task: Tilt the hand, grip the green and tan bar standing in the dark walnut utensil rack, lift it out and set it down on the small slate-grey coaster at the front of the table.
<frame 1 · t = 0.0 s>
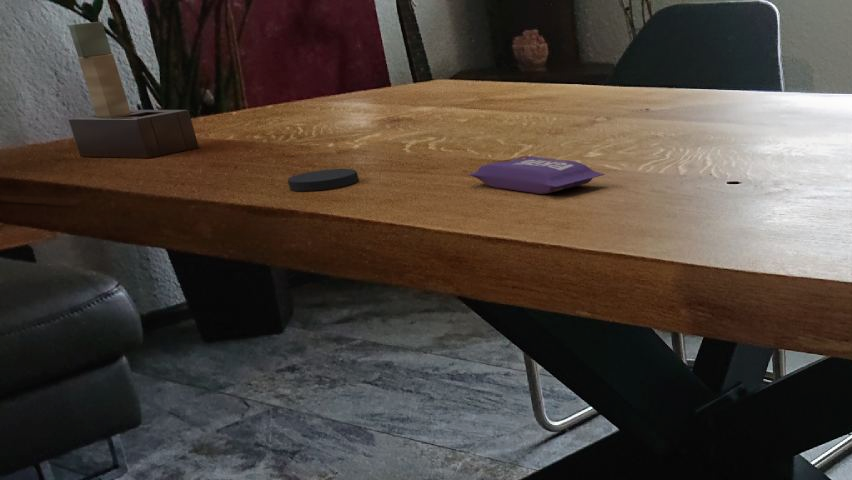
green and tan bar: (125, 151, 120), resting in rack
snack package: (537, 189, 88), on the table
rack: (140, 152, 119), on the table
coaster: (324, 184, 94), on the table
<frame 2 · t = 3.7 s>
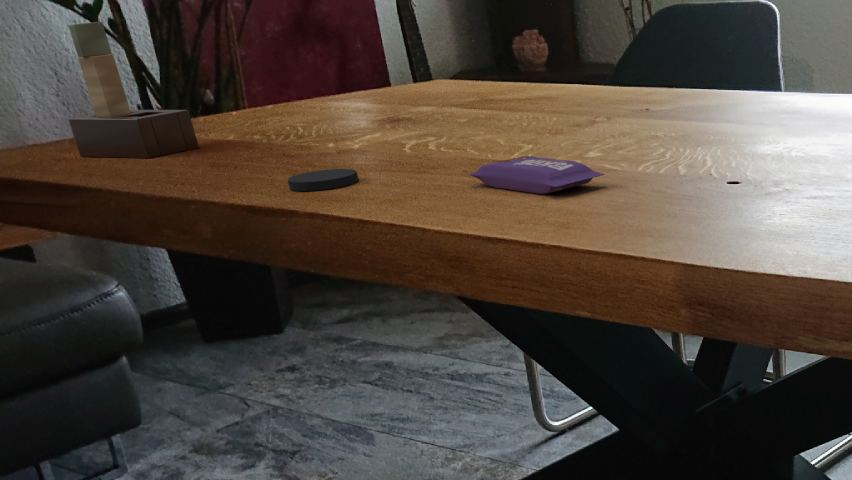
nothing on the table moved.
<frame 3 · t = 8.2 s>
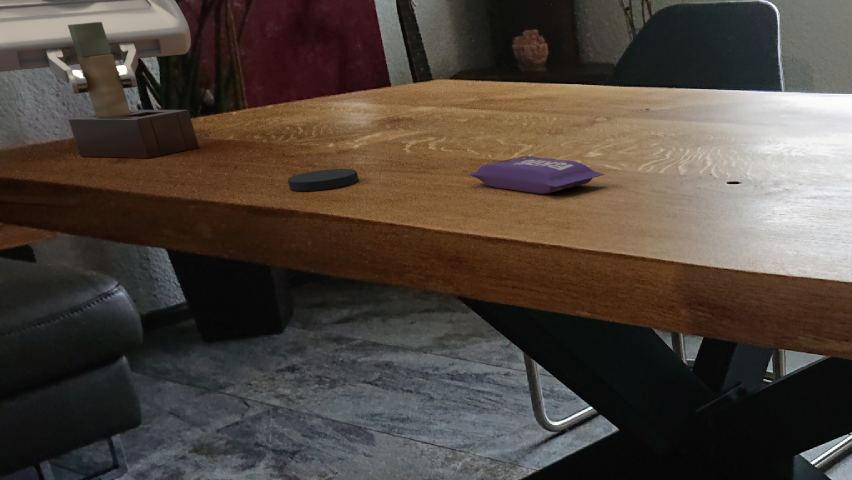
hand: (105, 86, 117), 7 cm above the table, tool tilted 45°, fingers closed on green and tan bar, 3 cm apart
green and tan bar: (125, 151, 120), resting in rack, touching gripper
everything else where it was.
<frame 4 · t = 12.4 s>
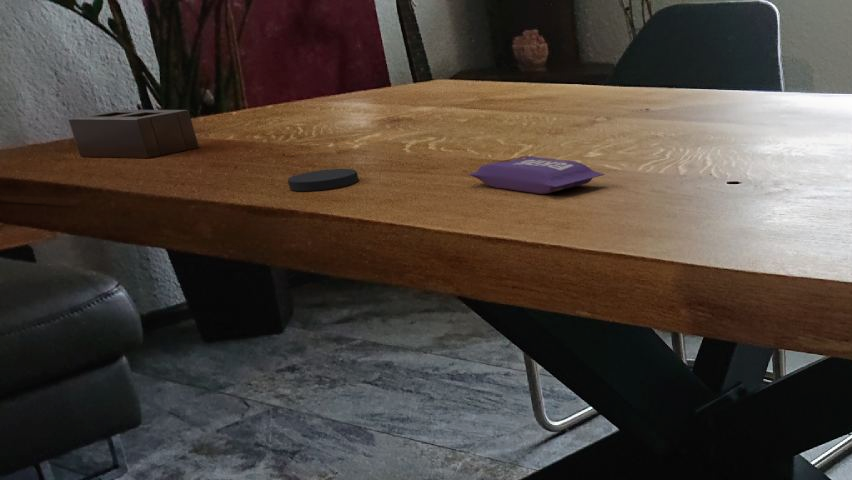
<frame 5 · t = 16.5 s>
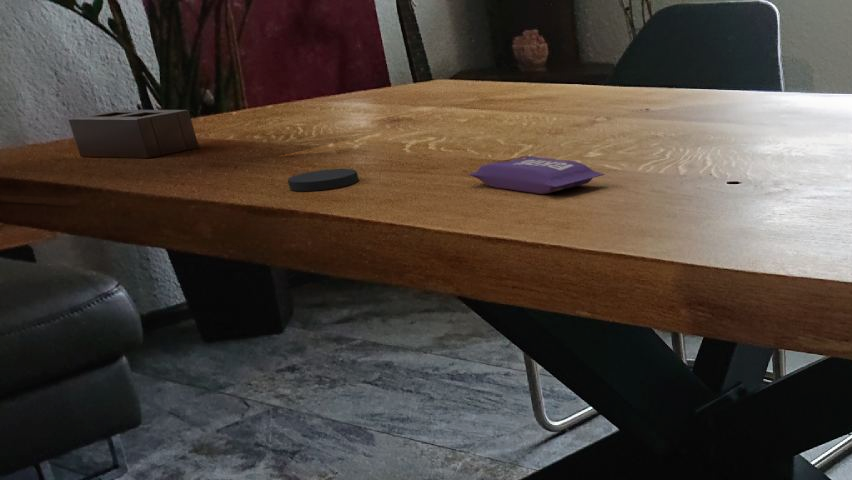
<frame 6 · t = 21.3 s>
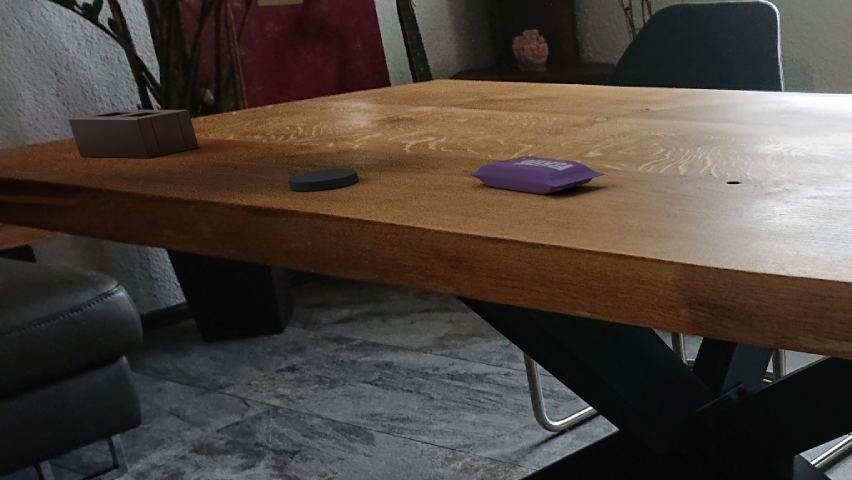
green and tan bar: (281, 4, 88), point 14 cm above the table, touching gripper
everything else where it was.
when the fingers open (8 cm above the table, at t = 25.2 s): green and tan bar stays where it is, resting on coaster.
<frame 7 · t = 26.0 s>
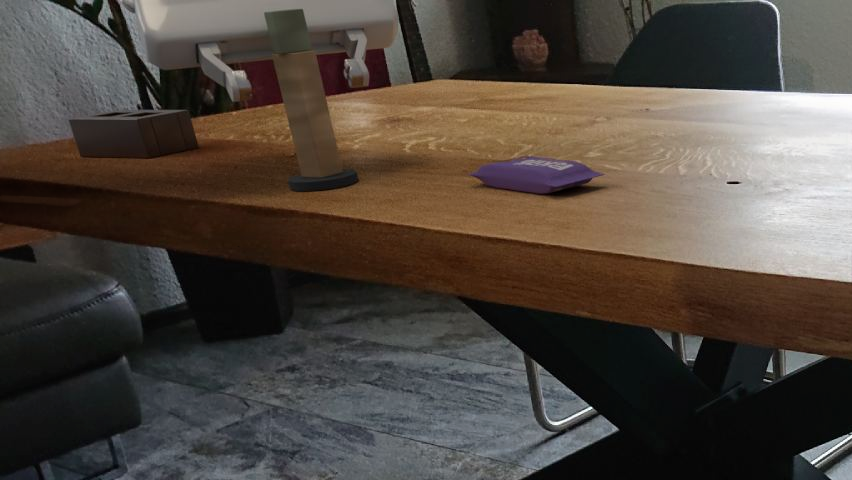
hand: (303, 88, 91), 8 cm above the table, tool tilted 45°, fingers open, 8 cm apart
green and tan bar: (322, 175, 94), point 1 cm above the table, touching coaster
everything else where it was.
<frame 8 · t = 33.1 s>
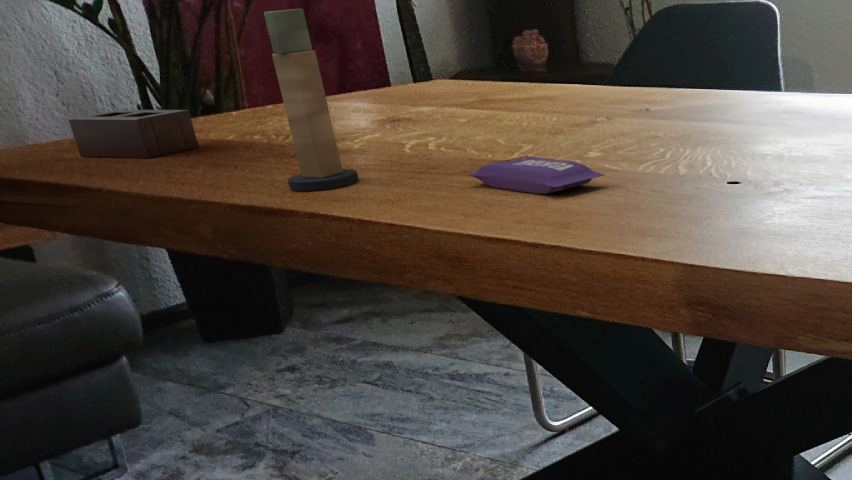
nothing on the table moved.
at the end: green and tan bar 0.0 cm off-centre on the coaster, point 0.8 cm above the coaster's base; green and tan bar moved 42.9 cm from its start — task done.
